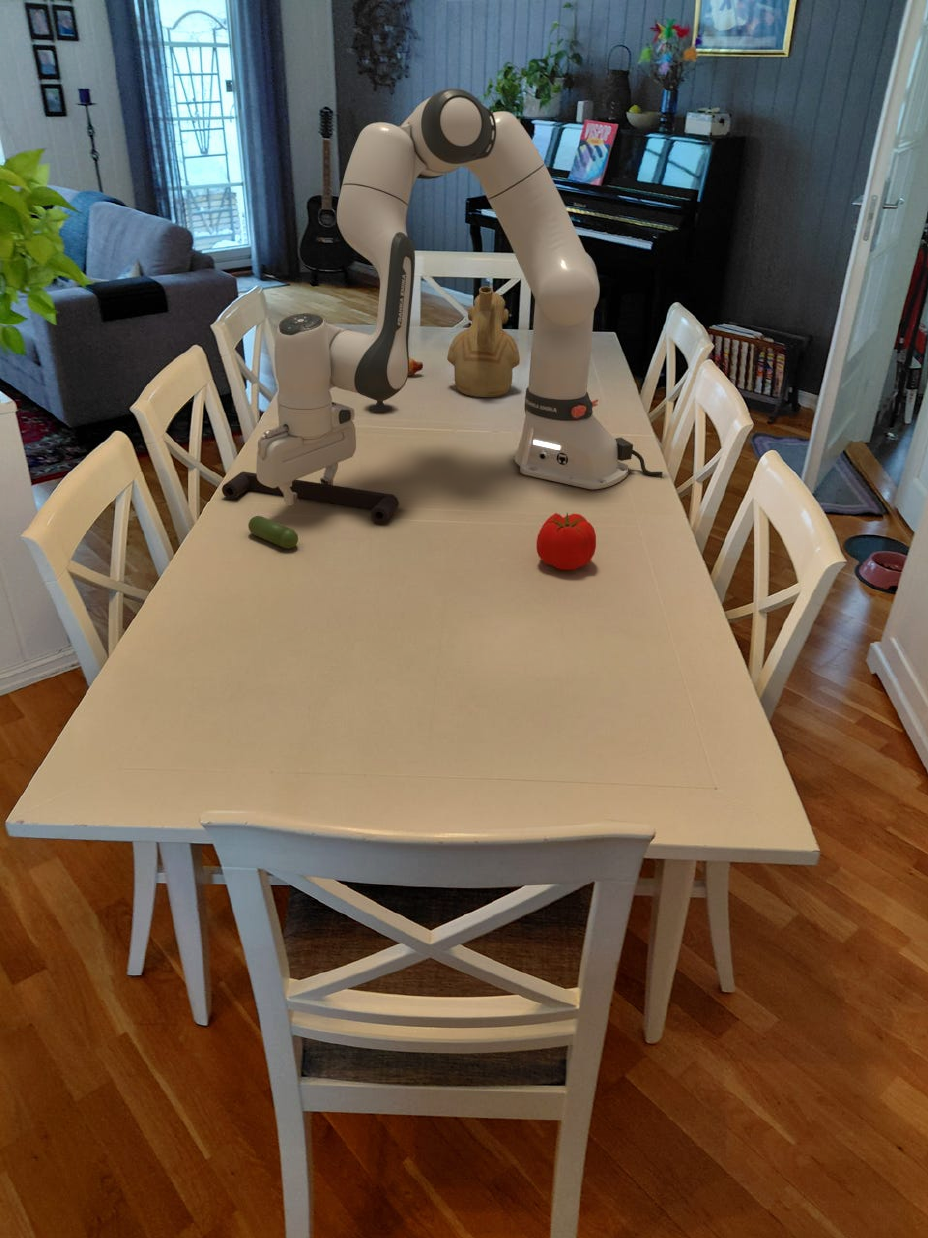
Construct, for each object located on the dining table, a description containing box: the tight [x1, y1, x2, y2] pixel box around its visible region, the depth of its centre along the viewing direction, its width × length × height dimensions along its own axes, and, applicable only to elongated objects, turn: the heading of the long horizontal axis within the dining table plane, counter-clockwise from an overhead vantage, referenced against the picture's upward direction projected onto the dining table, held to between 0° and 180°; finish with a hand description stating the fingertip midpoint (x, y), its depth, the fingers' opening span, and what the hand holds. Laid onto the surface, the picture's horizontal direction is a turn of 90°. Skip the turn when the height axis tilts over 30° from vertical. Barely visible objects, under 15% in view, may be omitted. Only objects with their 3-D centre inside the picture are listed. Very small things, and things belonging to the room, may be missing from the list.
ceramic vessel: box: [446, 286, 521, 398], centre depth 215 cm, size 17×20×25 cm
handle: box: [221, 471, 400, 524], centre depth 161 cm, size 30×6×3 cm, turn 74°
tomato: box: [535, 512, 597, 571], centre depth 145 cm, size 9×9×8 cm
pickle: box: [247, 515, 299, 550], centre depth 149 cm, size 10×3×3 cm, turn 53°
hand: (309, 494), depth 161 cm, fingers closed on handle, 7 cm apart
